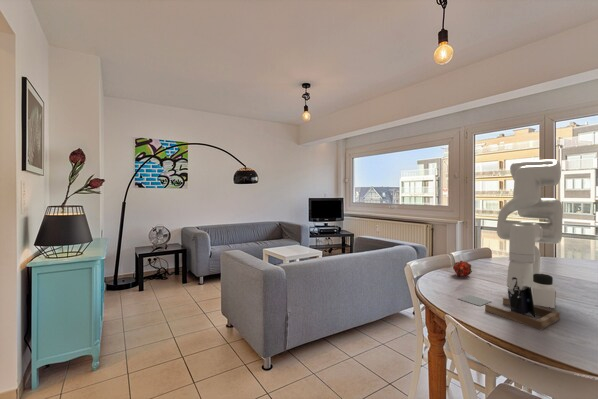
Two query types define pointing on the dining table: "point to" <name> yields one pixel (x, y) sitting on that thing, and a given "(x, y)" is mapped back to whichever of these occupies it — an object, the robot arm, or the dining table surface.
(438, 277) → the dining table surface
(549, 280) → the medicine bottle
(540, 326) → the walled lane
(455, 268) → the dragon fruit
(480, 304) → the mat
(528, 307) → the speaker
